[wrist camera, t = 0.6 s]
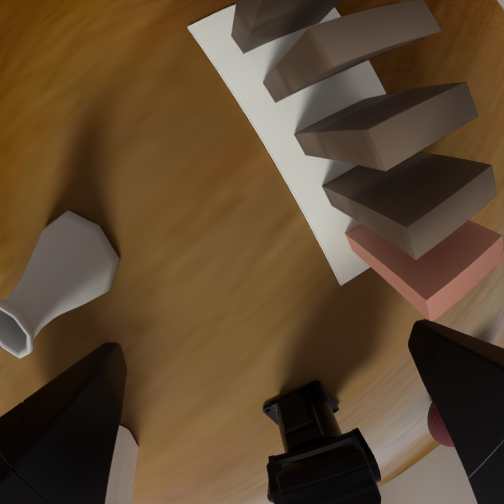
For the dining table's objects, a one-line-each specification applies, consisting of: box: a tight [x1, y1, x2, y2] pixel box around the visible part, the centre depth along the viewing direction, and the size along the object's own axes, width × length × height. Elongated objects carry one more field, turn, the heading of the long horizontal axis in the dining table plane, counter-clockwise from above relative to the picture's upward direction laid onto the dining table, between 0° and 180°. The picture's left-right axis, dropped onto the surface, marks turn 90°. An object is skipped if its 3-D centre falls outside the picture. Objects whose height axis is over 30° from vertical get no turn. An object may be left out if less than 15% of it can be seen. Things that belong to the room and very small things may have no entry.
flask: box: [0, 210, 120, 358], centre depth 15 cm, size 7×7×10 cm
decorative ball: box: [428, 401, 455, 447], centre depth 28 cm, size 10×10×10 cm
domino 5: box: [345, 220, 503, 321], centre depth 16 cm, size 2×6×10 cm, turn 121°
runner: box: [188, 4, 386, 285], centre depth 18 cm, size 22×10×1 cm, turn 31°
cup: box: [105, 425, 139, 504], centre depth 19 cm, size 11×11×18 cm
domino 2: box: [263, 0, 442, 103], centre depth 12 cm, size 2×6×10 cm, turn 121°
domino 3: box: [294, 82, 478, 171], centre depth 13 cm, size 2×6×10 cm, turn 121°
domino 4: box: [322, 152, 497, 260], centre depth 15 cm, size 2×6×10 cm, turn 120°
